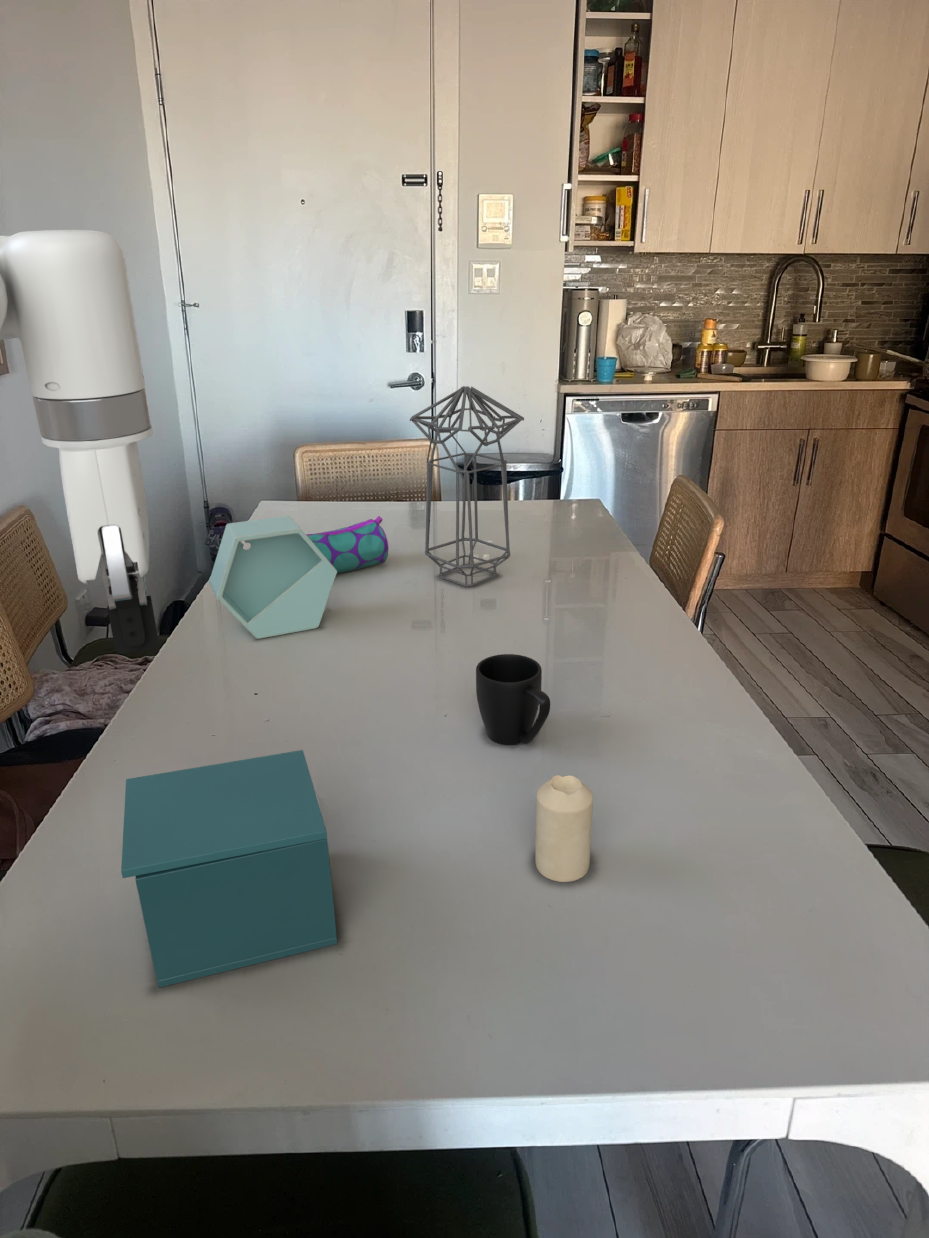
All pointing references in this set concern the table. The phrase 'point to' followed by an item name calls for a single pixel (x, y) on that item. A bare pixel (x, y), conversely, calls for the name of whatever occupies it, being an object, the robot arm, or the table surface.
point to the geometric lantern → (466, 472)
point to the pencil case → (353, 545)
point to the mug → (511, 698)
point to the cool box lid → (218, 812)
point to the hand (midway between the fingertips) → (137, 647)
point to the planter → (272, 577)
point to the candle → (563, 828)
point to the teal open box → (238, 911)
